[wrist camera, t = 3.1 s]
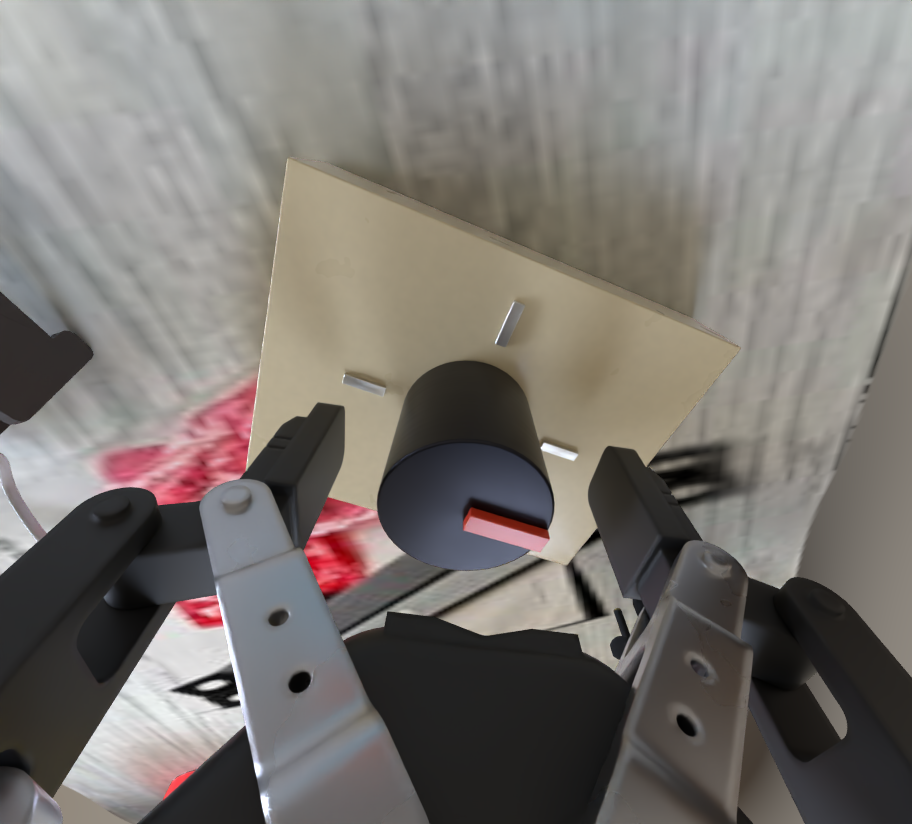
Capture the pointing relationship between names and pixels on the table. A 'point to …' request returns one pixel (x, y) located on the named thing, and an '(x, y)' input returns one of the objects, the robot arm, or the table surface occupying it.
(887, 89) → the table surface
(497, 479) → the dial
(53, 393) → the clip-on lamp
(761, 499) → the table surface
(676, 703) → the robot arm
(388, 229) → the panel
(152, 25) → the table surface
